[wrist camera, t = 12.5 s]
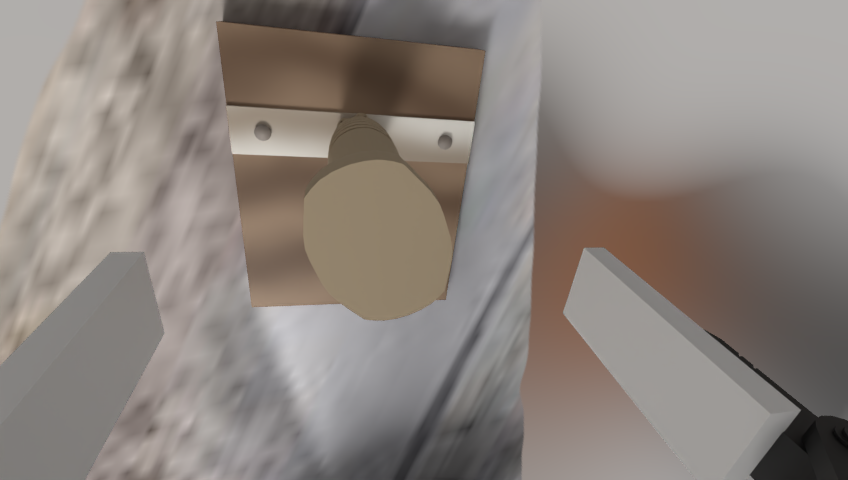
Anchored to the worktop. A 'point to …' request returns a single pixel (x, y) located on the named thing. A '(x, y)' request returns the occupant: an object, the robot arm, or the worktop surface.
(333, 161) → the handle
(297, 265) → the board
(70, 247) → the worktop surface
